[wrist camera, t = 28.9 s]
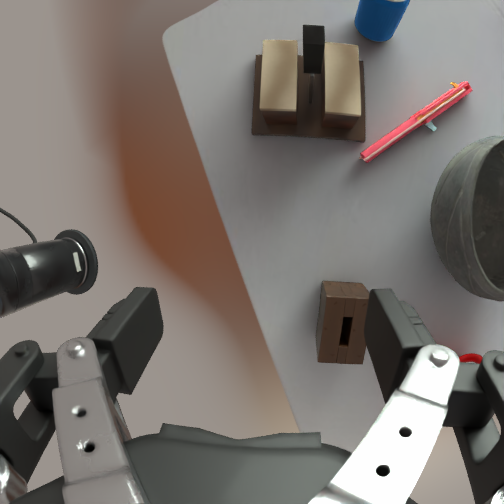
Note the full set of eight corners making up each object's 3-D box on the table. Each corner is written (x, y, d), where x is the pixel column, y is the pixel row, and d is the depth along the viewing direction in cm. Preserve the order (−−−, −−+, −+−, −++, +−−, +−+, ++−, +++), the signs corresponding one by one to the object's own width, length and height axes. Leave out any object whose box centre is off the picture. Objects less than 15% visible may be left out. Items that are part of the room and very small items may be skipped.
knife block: (315, 337, 45) (317, 362, 38) (322, 280, 44) (326, 295, 36) (353, 339, 45) (362, 364, 37) (362, 283, 43) (374, 299, 35)
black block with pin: (303, 103, 40) (303, 46, 23) (303, 84, 39) (302, 22, 23) (317, 103, 39) (325, 47, 23) (317, 85, 39) (324, 23, 22)
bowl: (530, 221, 37) (586, 229, 22) (460, 309, 41) (508, 345, 26) (465, 123, 37) (517, 98, 22) (384, 211, 41) (423, 214, 27)
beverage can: (391, 48, 37) (412, 10, 25) (351, 37, 38) (363, -6, 26) (393, 20, 36) (411, -20, 24) (355, 9, 37) (366, -34, 25)
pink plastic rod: (470, 100, 37) (458, 75, 35) (478, 100, 35) (465, 74, 33) (368, 174, 42) (352, 147, 40) (374, 177, 40) (357, 148, 38)
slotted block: (252, 135, 43) (242, 120, 34) (256, 57, 41) (248, 31, 33) (364, 142, 40) (377, 129, 32) (362, 63, 38) (372, 38, 30)
